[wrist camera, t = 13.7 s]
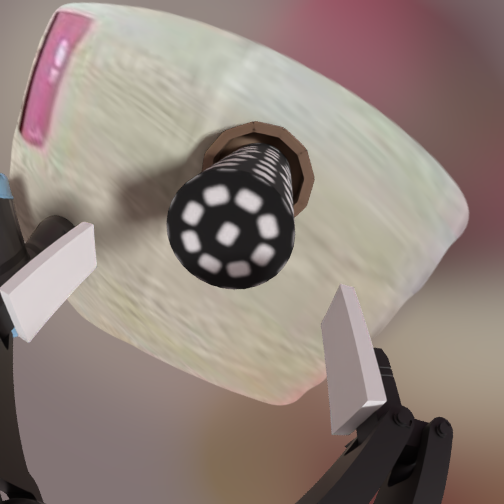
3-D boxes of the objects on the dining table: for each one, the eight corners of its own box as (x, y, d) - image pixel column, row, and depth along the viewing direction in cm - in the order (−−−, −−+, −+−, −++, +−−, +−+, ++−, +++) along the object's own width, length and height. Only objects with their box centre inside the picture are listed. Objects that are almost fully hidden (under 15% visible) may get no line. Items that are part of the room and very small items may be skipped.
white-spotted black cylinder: (269, 214, 37) (251, 308, 20) (216, 183, 36) (150, 249, 18) (303, 164, 33) (322, 217, 16) (247, 130, 32) (200, 143, 15)
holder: (203, 206, 39) (194, 216, 35) (220, 114, 32) (212, 113, 28) (294, 228, 39) (295, 241, 35) (321, 137, 32) (325, 139, 28)
